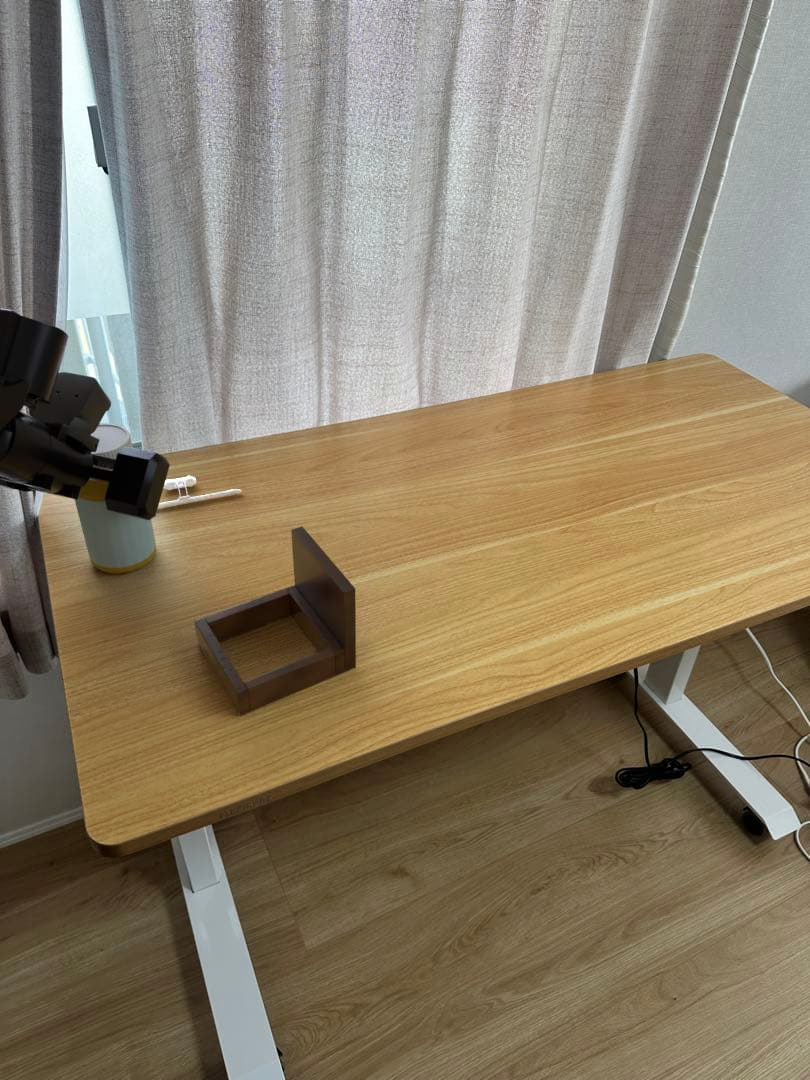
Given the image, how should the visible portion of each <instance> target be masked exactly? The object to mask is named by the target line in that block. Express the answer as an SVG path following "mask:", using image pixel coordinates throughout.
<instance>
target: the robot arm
mask: <svg viewBox="0 0 810 1080" xmlns="http://www.w3.org/2000/svg"><path fill="white" fill-rule="evenodd" d="M69 339H70V336H69V334H68V333H67V332H65V331H64V330H63V329H62V328H60V327H57V326H53V325H48V324H46V323H43V322H41V321H39V320H36V319H34V318H30V317H27V316H24V315H21V314H20V313H18V312H17V311H15V310H13V309H8V308H7V309H6V308H1V307H0V487H2V488H6V489H10V490H17V491H20V492H25V493H26V492H27V493H28V492H29V493H30V492H40V493H45V494H49V495H54V496H57V497H61V498H67V499H72V500H74V501H75V500H78V496H79V493H80V489H81V488H82V487H84V486H85V485H86V483H87V482H88V480H89V479H94V480H99V481H103V482H108V483H109V484H108V488H107V491H106V495H105V502H106V507H107V510H109V511H112V512H116V513H119V514H123V515H127V516H131V517H136V518H140V519H144V520H150V519H151V520H152V519H153V518H155V517H156V516H157V512H158V510H159V509H158V505H159V503H161V498H162V494H163V492H164V491H163V490H164V488H163V487H164V484H165V481H166V480H167V476H168V474H169V470H170V466H171V464H170V462H169V460H168V459H167V457H165V456H164V455H161V454H160V453H158V452H155V451H150V450H145V449H140V448H135V447H133V448H131V447H126V446H125V447H124V448H123V449H122V450H121V451H119V452H118V453H117V457H116V459H112V458H107V457H103V456H98V455H93V454H91V452H96V451H97V447H98V444H99V439H97V438H95V437H93V436H91V434H92V433H93V432H94V431H95V430H96V428H97V427H98V425H99V423H101V422H102V420H103V418H104V416H105V414H106V413H107V412H108V411H109V410H110V409H111V406H112V401H111V398H109V396H108V394H107V393H106V392H105V390H104V389H103V387H102V386H101V384H100V382H99V381H98V379H97V378H96V377H93V376H90V375H89V376H88V375H83V374H78V373H73V372H68V371H60V369H61V366H62V363H63V360H64V359H63V358H64V355H65V352H66V349H67V346H68V342H69ZM24 407H26V408H28V414H29V415H28V414H26V413H24V412H22V410H23V408H24ZM93 466H99V467H101V466H102V467H103V468H107V469H108V468H109V469H111V470H112V469H113V471H109V470H105V469H100V468H95V467H93Z"/></svg>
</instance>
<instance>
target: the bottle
mask: <svg viewBox="0 0 810 1080" xmlns="http://www.w3.org/2000/svg"><path fill="white" fill-rule="evenodd" d="M91 436H93V437H95V438H97V439H99V444H98V447H97V451H96V452H91V454H93V455H98V456H103V457H107V458H112V459H116V457H117V453H118V452H119V451H121V450H122V449H123V448H124V447H125V446H126V447H131V448H134V446H133V439H132V436H131V432H130V431H129V430H128V429H127V428H126V427H125V426H122V425H120V424H117V423H109V422H100V423H99V425H98V427H97V428H96V430H95V431H94V432H93V433H92V434H91ZM93 467H95V468H100V469H105V470H109V471H113V469H112V470H111V469H109V468H108V469H107V468H103V467H102V466H101V467H99V466H93ZM108 484H109V483H108V482H103V481H99V480H94V479H89V480H88V482H87V483H86V485H85V486H84V487H82V488H81V489H80V493H79V496H78V500H75V499H74V503H75V506H76V507H75V508H76V510H77V515H78V518H79V522H80V526H81V530H82V534H83V539H84V541H85V545H86V550H87V554H88V556H89V561H90V563H91V564H92V565H93V566H94V567H95V568H96V569H98V570H100V571H102V572H104V573H108V574H111V575H123V574H131V573H134V572H136V571H139V570H140V569H143V568H144V567H146V566H147V565H148V563H149V562H151V561H152V559H153V558H154V557H155V555H156V552H157V543H156V537H155V532H154V526H153V521H152V519H150V520H144V519H140V518H136V517H131V516H127V515H123V514H119V513H116V512H112V511H109V510H107V507H106V502H105V495H106V491H107V488H108Z"/></svg>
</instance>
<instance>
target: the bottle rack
mask: <svg viewBox="0 0 810 1080" xmlns="http://www.w3.org/2000/svg"><path fill="white" fill-rule="evenodd" d="M290 531H291V532H290V533H291V549H292V561H293V575H294V576H293V578H294V584H293V585H291V586H288V587H286V588H282V589H280V590H277V591H274V592H270V593H267V594H266V595H263V596H260V597H257V598H255V599H252V600H249V601H246V602H243V603H239V604H238V605H235V606H232V607H229V608H226V609H224V610H223V609H222V610H221V611H218V612H215V613H213V614H209V615H207V616H205V617H201V618H199V619H195V620H194V621H193V623H194V629H195V635H196V640H197V641H196V642H197V644H198V646H199V648H200V649H201V651H202V653H203V655H204V656H205V658H206V660H207V661H208V663H209V665H210V667H211V668H212V670H213V673H214V674H215V676H216V677H217V679H218V680H219V682H220V684H221V685H222V687H223V689H224V692H225V693H226V694H227V696H228V698H229V700H230V701H231V703H232V705H233V706H234V708H235V710H236V712H237V713H238V715H239V716H240V717H242V716H244V715H246V714H249V713H251V712H254V711H256V710H258V709H261V708H262V707H265V706H268V705H271V704H273V703H275V702H277V701H280V700H282V699H284V698H287V697H289V696H291V695H294V694H296V693H299V692H301V691H303V690H306V689H308V688H310V687H313V686H315V685H318V684H320V683H323V682H324V681H327V680H329V679H332V678H334V677H336V676H339V675H342V674H344V673H346V672H348V671H351V670H353V669H355V668H357V639H356V638H357V637H356V636H357V635H356V634H357V633H356V632H357V631H356V630H357V628H356V627H357V625H356V624H357V621H356V619H357V618H356V612H357V611H356V587H355V586H354V585H353V584H352V583H351V582H350V580H349V579H348V578H347V577H346V575H344V573H343V572H342V571H341V570H340V569H339V567H338V565H336V564H335V562H333V560H332V559H331V558H330V557H329V556H328V555H327V553H326V552H325V551H324V550H323V549H322V547H320V545H319V544H318V542H317V541H315V539H314V538H313V537H312V536H311V535H310V534H309V532H308V531H307V530H306V528H304V526H302V525H301V526H298V527H295V528H292V529H291V530H290ZM290 616H291V617H292V618H293V619H294V621H295V623H297V625H298V626H299V627H300V629H301V631H302V632H303V633H304V634H305V636H306V637H307V638H308V640H309V641H310V643H311V644H312V645H313V647H314V648H315V649H316V651H317V652H315V653H312V654H309V655H307V656H305V657H303V658H300V659H297V660H295V661H293V662H290V663H288V664H285V665H283V666H280V667H278V668H275V669H273V670H271V671H267V672H265V673H264V674H261V675H258V676H256V677H253V678H250V679H247V680H246V681H243V679H242V678H241V676H240V674H239V673H238V671H237V669H236V668H235V667H234V664H233V663H232V661H231V659H230V658H229V657H228V655H227V653H226V652H225V650H224V648H223V647H222V645H221V642H224V641H226V640H230V639H232V638H235V637H237V636H241V635H242V634H245V633H248V632H251V631H253V630H256V629H259V628H261V627H264V626H267V625H269V624H272V623H275V622H277V621H280V620H283V619H286V618H288V617H290Z"/></svg>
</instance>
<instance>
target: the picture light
mask: <svg viewBox="0 0 810 1080" xmlns="http://www.w3.org/2000/svg"><path fill="white" fill-rule="evenodd" d="M196 484H197V479H196V477H195V476H192V475H189V474H188V475H187V476H183V477H178V478H172V479H171V478H166V480H165V484H164V487H163V490H167V491H172V490H177V489H178V493H179V494H178V495H179V497H178V498H177V499H174V500H168V501H163V502H159V505H158V509H157V510H160V509H164V508H171V507H175V506H180V505H181V506H182V505H186V504H192V503H196V502H197V503H198V502H202V501H208V500H213V499H218V498H223V497H224V498H225V497H230V496H235V495H238V494H240V493H241V492H243V489H239V488H235V489H233V488H232V489H228V490H222V491H217V492H213V493H212V492H211V493H207V494H200V495H196V496H191V495H189V493H188V488H187V487H190V488H191V487H193V486H194V485H196ZM183 488H184V489H185V492H186V495H184V496H182V495H181V490H180V489H183Z"/></svg>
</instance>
